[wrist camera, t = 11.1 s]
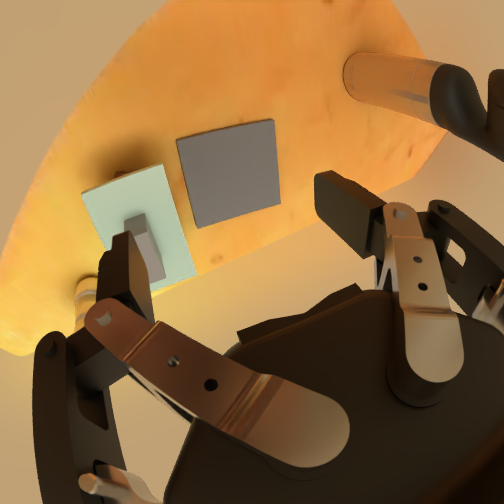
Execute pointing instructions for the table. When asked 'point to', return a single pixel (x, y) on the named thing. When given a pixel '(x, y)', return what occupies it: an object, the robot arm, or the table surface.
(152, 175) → the lid
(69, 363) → the robot arm
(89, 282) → the plastic bottle
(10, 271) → the table surface
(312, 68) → the table surface
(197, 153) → the rubber mat
